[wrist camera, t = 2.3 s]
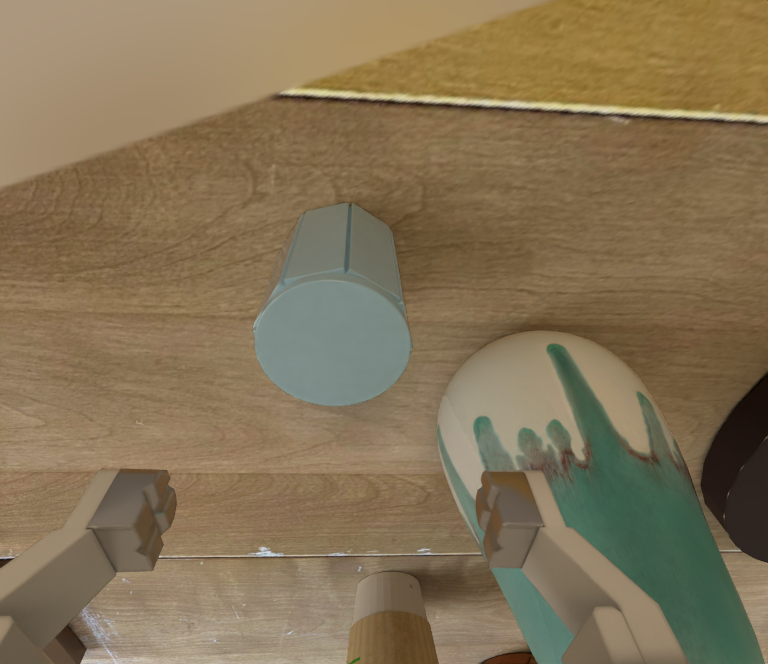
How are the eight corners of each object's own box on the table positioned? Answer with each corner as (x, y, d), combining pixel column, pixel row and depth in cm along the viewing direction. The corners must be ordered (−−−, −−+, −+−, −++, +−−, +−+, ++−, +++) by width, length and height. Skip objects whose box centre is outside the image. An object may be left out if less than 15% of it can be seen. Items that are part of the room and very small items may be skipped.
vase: (412, 326, 25) (486, 732, 10) (615, 283, 24) (1015, 665, 9) (441, 454, 32) (512, 819, 17) (602, 425, 31) (829, 785, 16)
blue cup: (269, 218, 21) (228, 298, 15) (385, 194, 21) (396, 265, 14) (304, 315, 25) (283, 417, 18) (404, 296, 24) (421, 393, 18)
